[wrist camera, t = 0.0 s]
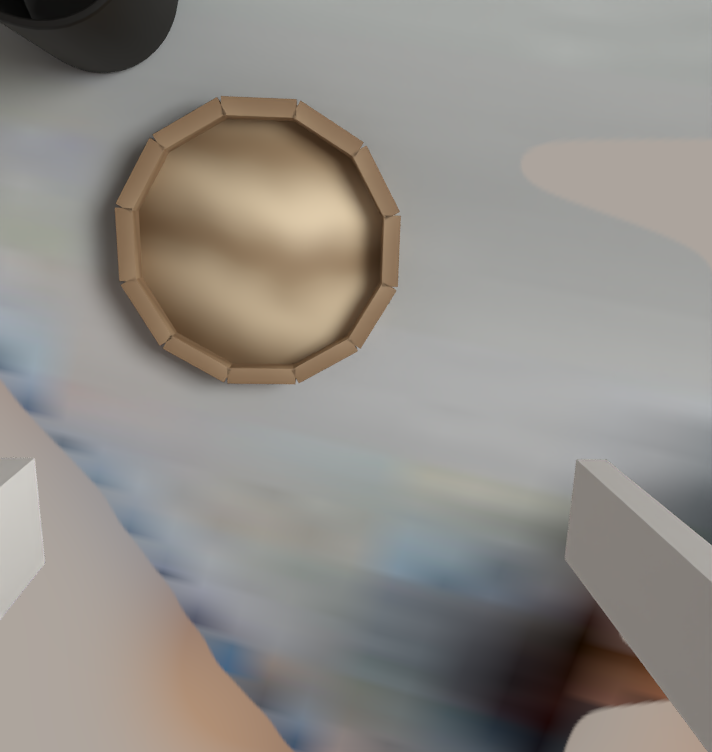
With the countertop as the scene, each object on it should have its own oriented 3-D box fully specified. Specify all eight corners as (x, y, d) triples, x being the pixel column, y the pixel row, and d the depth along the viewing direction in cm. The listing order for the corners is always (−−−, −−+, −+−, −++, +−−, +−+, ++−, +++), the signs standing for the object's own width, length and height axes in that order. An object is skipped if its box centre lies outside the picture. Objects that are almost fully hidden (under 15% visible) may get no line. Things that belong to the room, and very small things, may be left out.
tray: (119, 98, 38) (107, 91, 35) (400, 110, 39) (405, 103, 37) (135, 374, 42) (125, 382, 39) (389, 376, 43) (393, 385, 41)
